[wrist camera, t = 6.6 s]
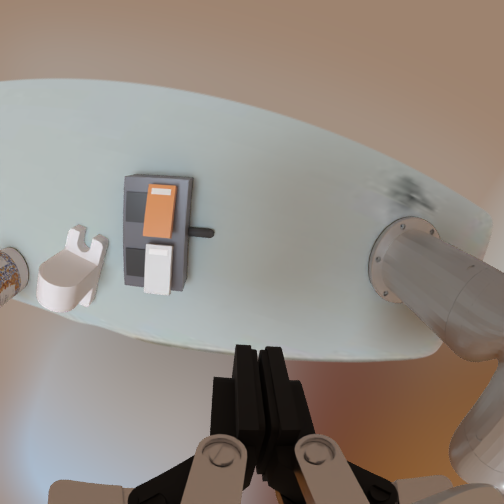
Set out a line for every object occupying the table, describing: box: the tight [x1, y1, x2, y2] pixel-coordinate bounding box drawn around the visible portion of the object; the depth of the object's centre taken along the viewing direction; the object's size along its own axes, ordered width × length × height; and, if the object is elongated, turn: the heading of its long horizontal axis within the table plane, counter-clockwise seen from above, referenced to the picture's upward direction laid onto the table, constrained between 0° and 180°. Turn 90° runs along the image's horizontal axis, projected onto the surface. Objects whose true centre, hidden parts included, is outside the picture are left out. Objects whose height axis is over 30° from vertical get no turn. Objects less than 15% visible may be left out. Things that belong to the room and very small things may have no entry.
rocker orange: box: [143, 184, 177, 239], centre depth 28 cm, size 3×5×1 cm, turn 173°
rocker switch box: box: [123, 174, 214, 291], centre depth 31 cm, size 10×12×4 cm
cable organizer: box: [36, 225, 109, 312], centre depth 29 cm, size 5×10×10 cm, turn 154°
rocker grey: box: [144, 243, 173, 296], centre depth 30 cm, size 3×5×1 cm, turn 173°
